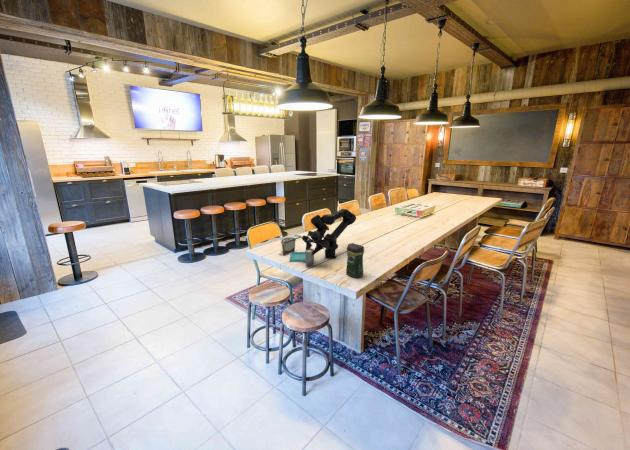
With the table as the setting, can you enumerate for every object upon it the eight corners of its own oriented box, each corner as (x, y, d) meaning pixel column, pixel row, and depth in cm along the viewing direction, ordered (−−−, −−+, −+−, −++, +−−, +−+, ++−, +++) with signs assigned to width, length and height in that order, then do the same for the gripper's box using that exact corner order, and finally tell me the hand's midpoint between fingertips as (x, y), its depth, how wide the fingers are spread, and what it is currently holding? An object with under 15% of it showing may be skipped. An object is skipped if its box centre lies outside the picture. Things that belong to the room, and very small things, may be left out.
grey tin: (313, 261, 185) (313, 248, 182) (314, 265, 180) (314, 251, 177) (305, 261, 185) (305, 248, 182) (305, 265, 180) (305, 251, 177)
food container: (289, 249, 212) (289, 236, 209) (296, 251, 208) (295, 237, 206) (277, 254, 203) (276, 240, 200) (283, 256, 199) (283, 242, 196)
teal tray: (311, 254, 203) (311, 251, 202) (311, 261, 189) (311, 259, 189) (290, 254, 203) (290, 252, 202) (289, 261, 189) (289, 259, 189)
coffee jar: (365, 275, 169) (366, 245, 165) (356, 279, 164) (357, 248, 160) (352, 270, 176) (353, 240, 172) (343, 274, 171) (344, 243, 167)
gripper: (303, 223, 185) (291, 244, 180) (327, 228, 174) (315, 250, 169) (311, 232, 193) (300, 252, 188) (334, 237, 182) (323, 259, 177)
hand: (309, 253), depth 180 cm, fingers closed on grey tin, 5 cm apart
